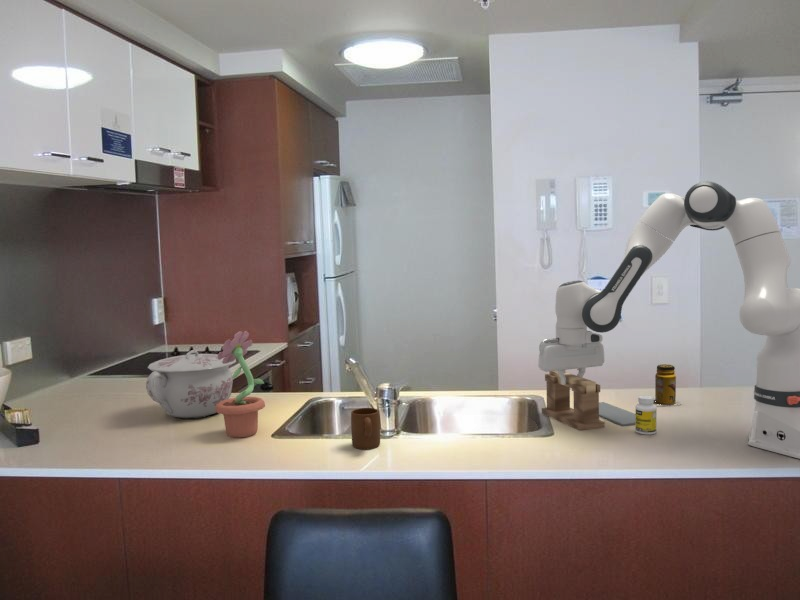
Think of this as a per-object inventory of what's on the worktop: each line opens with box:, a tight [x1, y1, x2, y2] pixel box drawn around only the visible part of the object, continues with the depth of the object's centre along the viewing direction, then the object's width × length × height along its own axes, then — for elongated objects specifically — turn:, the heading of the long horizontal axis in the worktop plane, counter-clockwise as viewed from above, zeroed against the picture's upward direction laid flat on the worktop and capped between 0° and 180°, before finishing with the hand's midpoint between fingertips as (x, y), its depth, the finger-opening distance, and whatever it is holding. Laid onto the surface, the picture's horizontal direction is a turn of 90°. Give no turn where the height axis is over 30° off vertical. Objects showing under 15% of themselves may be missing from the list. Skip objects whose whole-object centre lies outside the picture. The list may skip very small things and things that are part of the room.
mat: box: [599, 401, 636, 427], centre depth 214 cm, size 24×10×1 cm, turn 18°
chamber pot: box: [145, 349, 237, 420], centre depth 230 cm, size 28×28×21 cm
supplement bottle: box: [634, 395, 657, 436], centre depth 195 cm, size 5×5×10 cm
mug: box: [350, 407, 381, 450], centre depth 188 cm, size 12×8×9 cm, turn 9°
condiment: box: [653, 364, 682, 407], centre depth 225 cm, size 7×8×12 cm
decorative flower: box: [215, 330, 266, 439], centre depth 204 cm, size 15×14×30 cm
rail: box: [548, 371, 597, 394], centre depth 209 cm, size 20×3×3 cm, turn 18°
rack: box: [541, 373, 606, 431], centre depth 209 cm, size 21×8×12 cm, turn 18°
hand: (571, 383), depth 209 cm, fingers closed on rail, 3 cm apart
